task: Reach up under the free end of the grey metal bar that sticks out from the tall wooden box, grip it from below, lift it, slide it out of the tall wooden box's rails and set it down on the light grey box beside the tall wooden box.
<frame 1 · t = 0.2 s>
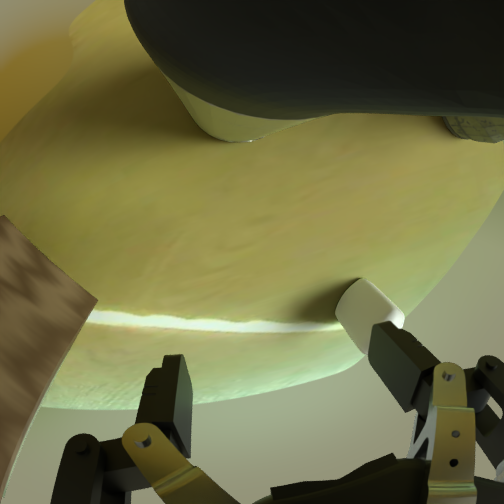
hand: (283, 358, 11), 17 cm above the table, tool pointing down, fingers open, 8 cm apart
tall wooden box: (33, 286, 26), on the table
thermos: (458, 106, 25), on the table
eye dropper bottle: (352, 297, 32), on the table
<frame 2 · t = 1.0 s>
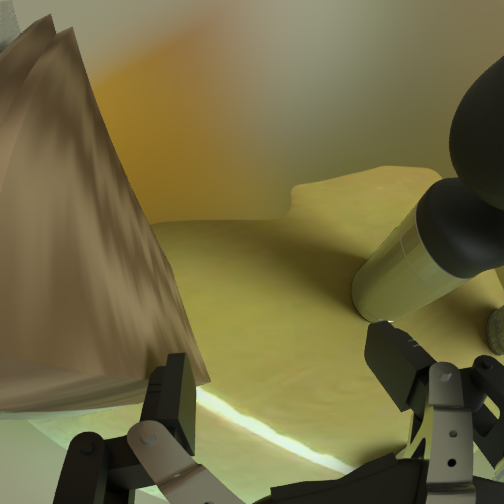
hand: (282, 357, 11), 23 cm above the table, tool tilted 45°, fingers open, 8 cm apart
light grey box: (91, 353, 31), on the table
tall wooden box: (152, 334, 33), on the table
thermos: (498, 332, 34), on the table
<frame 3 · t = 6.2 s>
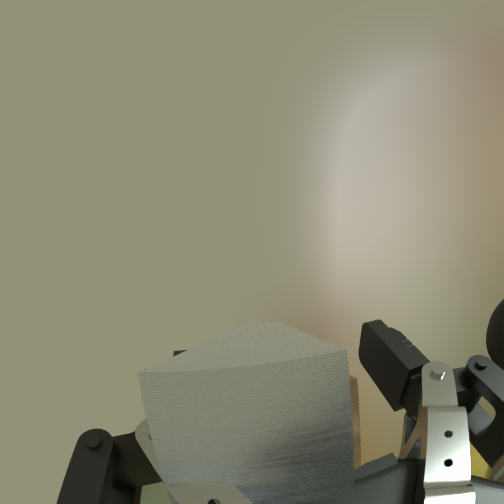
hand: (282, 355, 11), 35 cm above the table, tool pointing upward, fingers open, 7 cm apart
bar: (262, 388, 17), point 32 cm above the table, touching gripper
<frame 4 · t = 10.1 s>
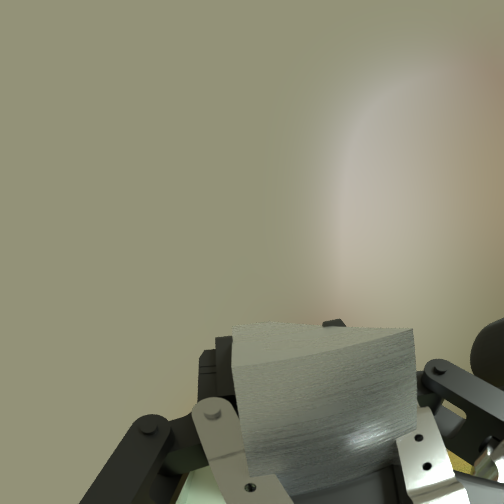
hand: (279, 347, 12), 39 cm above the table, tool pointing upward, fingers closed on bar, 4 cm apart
bar: (271, 386, 17), point 36 cm above the table, touching gripper
when the fingers open (26 cm above the table, at t = 13.7 s): bar drops 2 cm, resting on light grey box.
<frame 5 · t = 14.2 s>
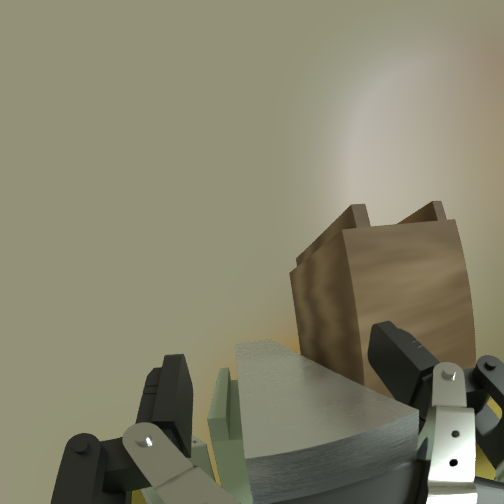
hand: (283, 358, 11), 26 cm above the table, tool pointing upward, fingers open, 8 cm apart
bar: (275, 414, 16), point 21 cm above the table, touching light grey box
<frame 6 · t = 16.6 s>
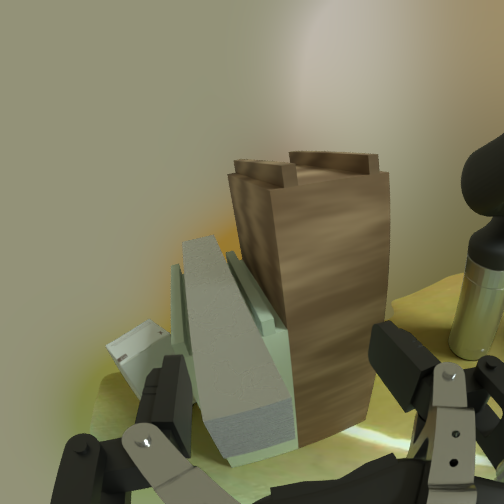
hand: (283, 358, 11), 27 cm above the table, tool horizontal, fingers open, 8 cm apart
light grey box: (250, 416, 36), on the table
tall wooden box: (310, 396, 38), on the table
skincare box: (172, 407, 39), on the table
bar: (219, 323, 24), point 21 cm above the table, touching light grey box
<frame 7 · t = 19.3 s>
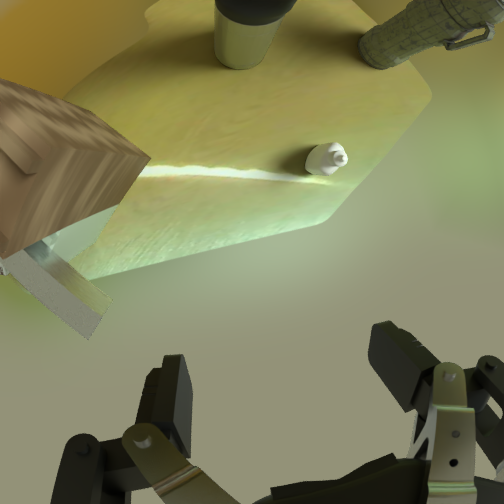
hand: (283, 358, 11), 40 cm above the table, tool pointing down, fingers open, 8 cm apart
light grey box: (76, 198, 44), on the table
tall wooden box: (102, 156, 43), on the table
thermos: (375, 51, 43), on the table
eye dropper bottle: (315, 159, 48), on the table
bar: (28, 245, 26), point 21 cm above the table, touching light grey box
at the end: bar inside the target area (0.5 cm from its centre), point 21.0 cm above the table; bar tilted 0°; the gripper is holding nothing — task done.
